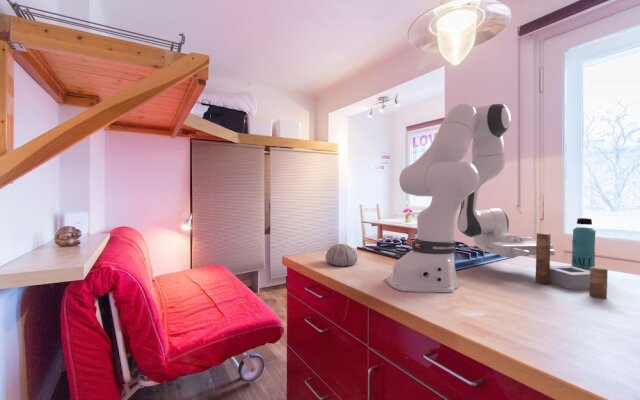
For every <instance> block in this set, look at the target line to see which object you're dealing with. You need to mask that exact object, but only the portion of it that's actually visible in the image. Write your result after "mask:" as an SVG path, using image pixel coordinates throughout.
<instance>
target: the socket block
mask: <svg viewBox="0 0 640 400" xmlns="http://www.w3.org/2000/svg"><path fill="white" fill-rule="evenodd" d="M549 283H551V284H554V285H557V286H560V287H564V288H566V289H568V290H572V291H573V290H590V271H588V270H585V269H581V268H577V267H573V266H572V265H550V280H549Z"/></svg>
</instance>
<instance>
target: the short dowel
mask: <svg viewBox="0 0 640 400" xmlns="http://www.w3.org/2000/svg"><path fill="white" fill-rule="evenodd" d="M608 270H609V269H608V268H605V267H599V266H594V267H590V289H588V290H589V292H588V293H589V296H590V297H592V298H595V299H596V298H597V299H608V272H609V271H608Z"/></svg>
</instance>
